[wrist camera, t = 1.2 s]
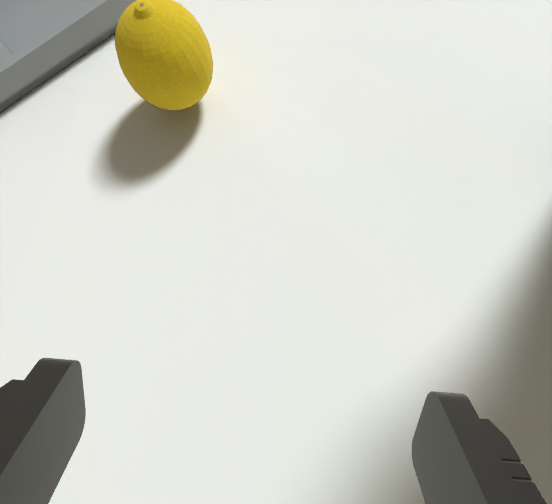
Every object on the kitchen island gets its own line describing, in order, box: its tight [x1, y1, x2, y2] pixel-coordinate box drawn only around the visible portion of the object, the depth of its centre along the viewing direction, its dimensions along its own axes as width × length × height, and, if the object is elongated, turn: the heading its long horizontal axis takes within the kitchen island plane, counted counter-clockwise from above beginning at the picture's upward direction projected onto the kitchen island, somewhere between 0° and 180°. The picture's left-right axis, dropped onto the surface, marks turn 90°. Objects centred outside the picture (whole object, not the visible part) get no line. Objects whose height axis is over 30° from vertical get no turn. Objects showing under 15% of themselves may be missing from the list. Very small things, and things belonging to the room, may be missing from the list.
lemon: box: [115, 0, 213, 110], centre depth 28 cm, size 6×6×8 cm
